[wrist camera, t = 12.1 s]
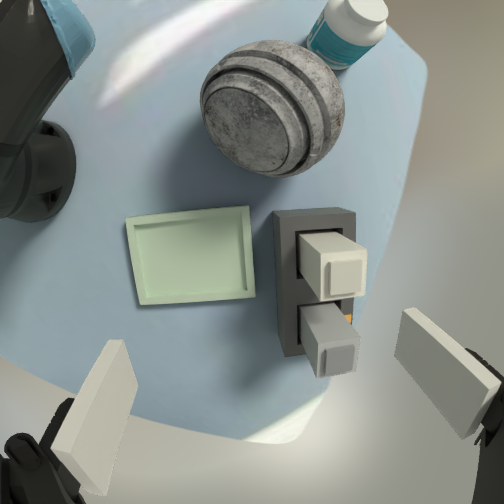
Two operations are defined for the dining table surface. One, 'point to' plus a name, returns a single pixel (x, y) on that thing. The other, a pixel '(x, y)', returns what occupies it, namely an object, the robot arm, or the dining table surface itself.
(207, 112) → the decorative orb
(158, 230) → the tray
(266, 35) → the dining table surface
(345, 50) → the pill bottle
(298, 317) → the plug
